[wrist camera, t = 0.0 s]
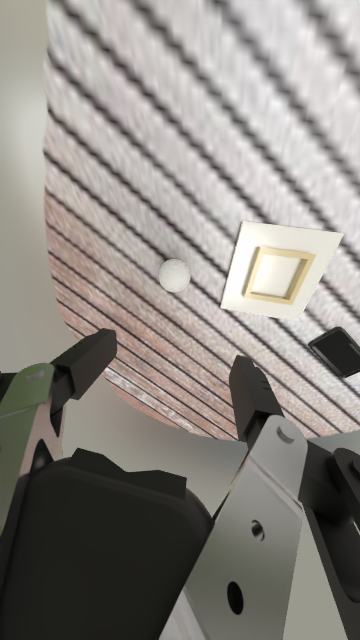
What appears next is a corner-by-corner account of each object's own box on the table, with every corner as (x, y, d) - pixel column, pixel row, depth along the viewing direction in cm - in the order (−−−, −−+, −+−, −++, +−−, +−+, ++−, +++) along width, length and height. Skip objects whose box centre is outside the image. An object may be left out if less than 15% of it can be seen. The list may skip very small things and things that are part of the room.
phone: (341, 379, 41) (308, 345, 38) (338, 376, 42) (305, 343, 39) (376, 364, 38) (342, 326, 35) (371, 361, 39) (338, 324, 36)
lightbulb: (171, 285, 38) (159, 298, 28) (165, 260, 36) (149, 264, 26) (195, 280, 37) (191, 292, 27) (190, 253, 34) (184, 255, 24)
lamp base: (241, 222, 30) (245, 219, 27) (337, 234, 29) (353, 232, 26) (219, 306, 38) (221, 311, 35) (294, 318, 37) (302, 325, 34)
